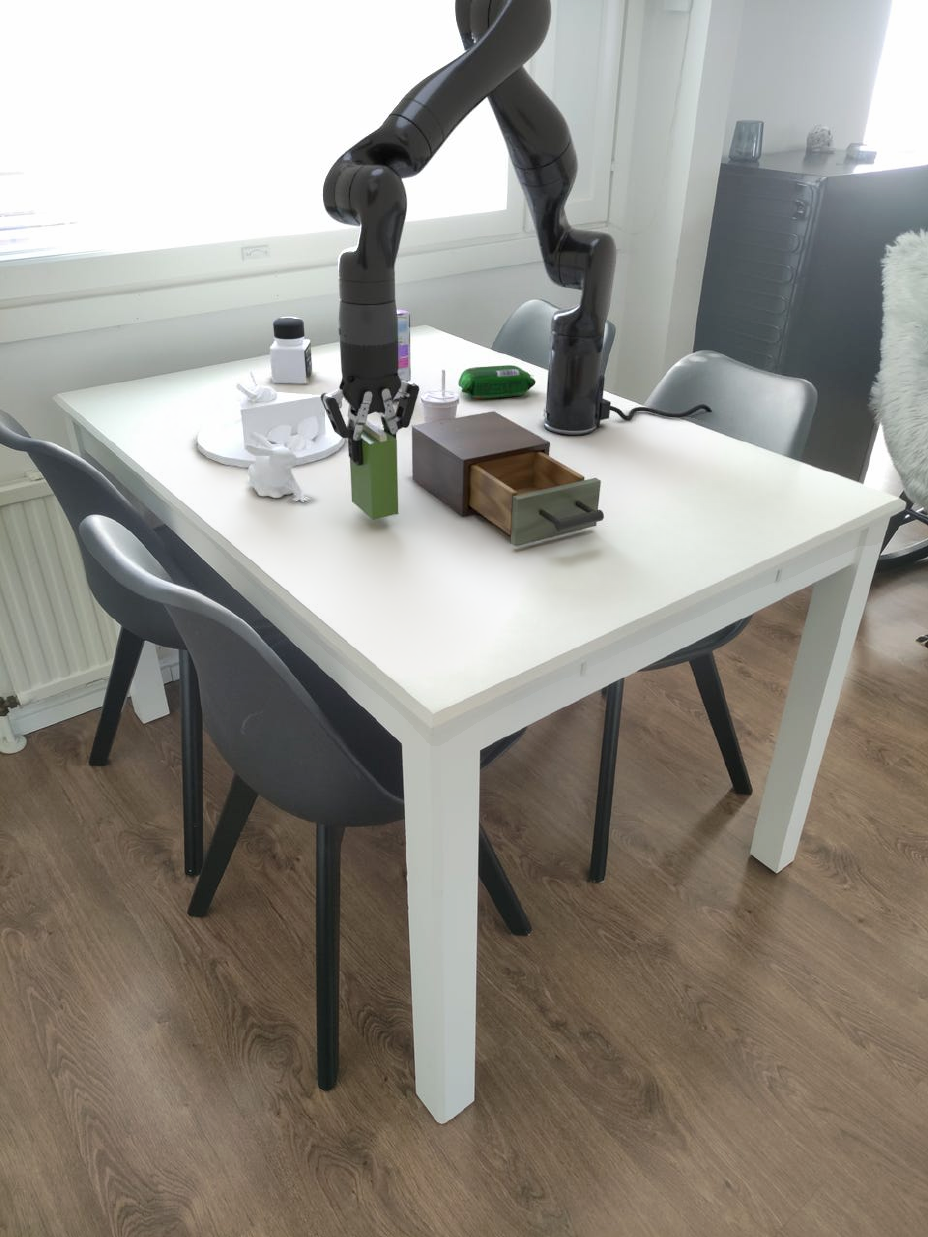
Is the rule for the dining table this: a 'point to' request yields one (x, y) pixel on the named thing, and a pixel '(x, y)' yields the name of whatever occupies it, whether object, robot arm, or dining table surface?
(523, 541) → the drawer
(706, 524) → the dining table surface
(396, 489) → the green rectangular block
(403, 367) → the candy box
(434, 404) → the smoothie
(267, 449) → the rabbit figurine
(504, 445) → the cabinet
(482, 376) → the snack package
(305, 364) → the medicine bottle
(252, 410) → the dish
